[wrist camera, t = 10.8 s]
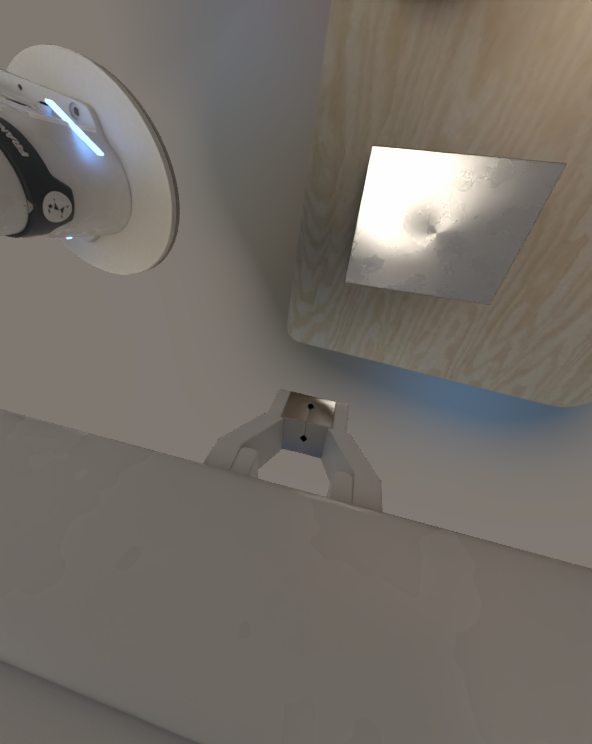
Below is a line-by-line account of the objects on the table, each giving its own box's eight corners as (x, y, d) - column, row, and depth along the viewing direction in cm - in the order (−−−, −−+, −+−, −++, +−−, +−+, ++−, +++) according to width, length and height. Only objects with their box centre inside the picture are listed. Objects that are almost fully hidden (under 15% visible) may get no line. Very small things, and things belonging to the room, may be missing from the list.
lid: (345, 280, 32) (344, 282, 31) (371, 146, 25) (372, 145, 24) (486, 302, 30) (489, 305, 30) (561, 164, 23) (567, 163, 22)
